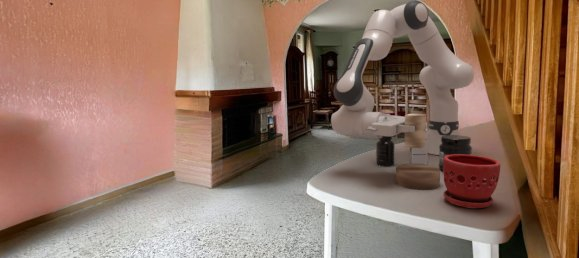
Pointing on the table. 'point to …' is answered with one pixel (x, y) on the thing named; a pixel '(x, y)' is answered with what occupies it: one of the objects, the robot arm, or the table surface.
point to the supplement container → (454, 147)
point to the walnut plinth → (418, 176)
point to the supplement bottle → (385, 151)
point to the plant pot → (470, 180)
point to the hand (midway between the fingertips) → (418, 127)
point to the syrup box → (419, 153)
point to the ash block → (417, 137)
